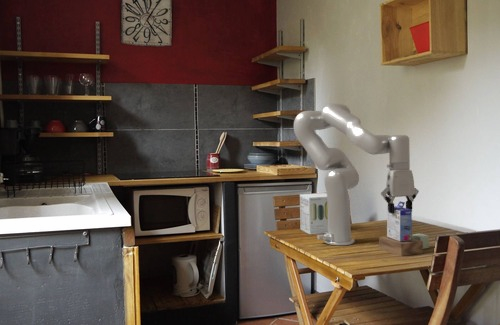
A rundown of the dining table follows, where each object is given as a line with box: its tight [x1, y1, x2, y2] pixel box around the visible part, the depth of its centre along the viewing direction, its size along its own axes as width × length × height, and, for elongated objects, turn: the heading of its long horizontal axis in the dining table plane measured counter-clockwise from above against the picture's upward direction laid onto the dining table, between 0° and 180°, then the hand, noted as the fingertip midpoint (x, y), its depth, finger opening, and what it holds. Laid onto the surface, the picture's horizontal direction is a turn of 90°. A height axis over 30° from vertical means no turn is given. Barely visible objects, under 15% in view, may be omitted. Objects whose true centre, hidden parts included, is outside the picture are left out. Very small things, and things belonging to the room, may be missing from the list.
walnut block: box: [378, 235, 424, 257], centre depth 202 cm, size 10×14×5 cm
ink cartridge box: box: [386, 201, 413, 241], centre depth 201 cm, size 10×6×14 cm, turn 16°
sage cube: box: [412, 233, 430, 250], centre depth 207 cm, size 5×5×5 cm
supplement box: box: [299, 192, 328, 235], centre depth 246 cm, size 13×13×18 cm
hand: (400, 211), depth 201 cm, fingers open, 7 cm apart
